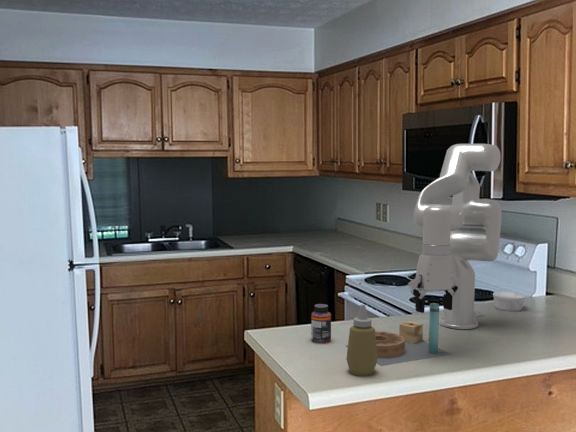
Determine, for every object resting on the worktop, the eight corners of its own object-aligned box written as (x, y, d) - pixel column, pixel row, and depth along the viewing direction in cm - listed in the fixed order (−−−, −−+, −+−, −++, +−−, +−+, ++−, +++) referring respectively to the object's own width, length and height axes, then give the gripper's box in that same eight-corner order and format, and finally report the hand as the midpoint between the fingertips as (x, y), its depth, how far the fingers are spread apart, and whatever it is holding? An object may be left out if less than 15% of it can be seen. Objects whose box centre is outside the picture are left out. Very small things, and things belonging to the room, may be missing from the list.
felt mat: (411, 337, 193) (411, 336, 193) (452, 355, 176) (452, 353, 176) (345, 347, 183) (345, 345, 183) (381, 367, 166) (381, 365, 166)
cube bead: (408, 336, 192) (408, 320, 192) (422, 340, 189) (422, 324, 188) (399, 340, 189) (399, 323, 188) (413, 343, 185) (413, 327, 185)
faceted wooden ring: (385, 340, 188) (386, 329, 188) (413, 353, 176) (414, 341, 175) (345, 346, 182) (346, 334, 182) (371, 360, 170) (372, 348, 169)
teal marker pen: (434, 350, 179) (435, 302, 178) (440, 352, 177) (441, 304, 175) (426, 351, 178) (427, 303, 177) (432, 354, 176) (433, 305, 174)
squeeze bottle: (355, 380, 156) (356, 310, 154) (340, 370, 164) (341, 303, 162) (383, 375, 159) (384, 307, 158) (367, 366, 167) (368, 300, 165)
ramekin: (531, 311, 226) (531, 297, 226) (503, 313, 223) (504, 298, 223) (513, 304, 237) (513, 290, 236) (486, 305, 234) (487, 291, 234)
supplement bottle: (320, 337, 192) (320, 301, 191) (335, 342, 188) (335, 305, 187) (307, 341, 188) (307, 305, 187) (321, 346, 184) (322, 308, 183)
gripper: (451, 247, 181) (449, 305, 183) (402, 250, 174) (400, 310, 175) (469, 250, 174) (466, 310, 176) (419, 253, 167) (416, 316, 168)
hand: (433, 310), depth 175 cm, fingers open, 9 cm apart
